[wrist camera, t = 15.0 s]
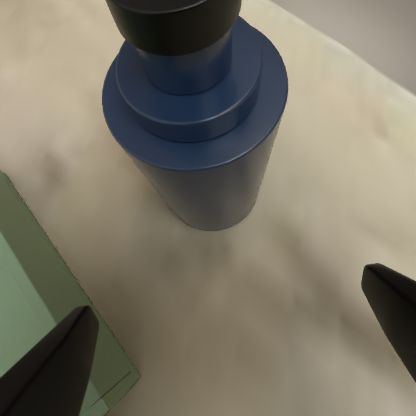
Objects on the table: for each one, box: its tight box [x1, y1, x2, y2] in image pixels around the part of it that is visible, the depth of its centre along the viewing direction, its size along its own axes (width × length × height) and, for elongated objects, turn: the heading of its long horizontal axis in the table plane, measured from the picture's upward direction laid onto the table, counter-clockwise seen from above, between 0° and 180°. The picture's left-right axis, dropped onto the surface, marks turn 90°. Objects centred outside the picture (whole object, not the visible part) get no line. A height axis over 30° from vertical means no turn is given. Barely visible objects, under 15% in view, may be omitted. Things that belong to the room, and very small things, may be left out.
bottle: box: [102, 0, 288, 231], centre depth 11 cm, size 6×6×13 cm
